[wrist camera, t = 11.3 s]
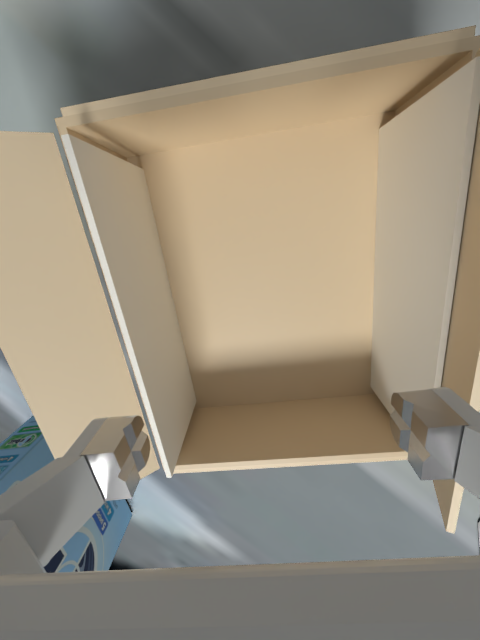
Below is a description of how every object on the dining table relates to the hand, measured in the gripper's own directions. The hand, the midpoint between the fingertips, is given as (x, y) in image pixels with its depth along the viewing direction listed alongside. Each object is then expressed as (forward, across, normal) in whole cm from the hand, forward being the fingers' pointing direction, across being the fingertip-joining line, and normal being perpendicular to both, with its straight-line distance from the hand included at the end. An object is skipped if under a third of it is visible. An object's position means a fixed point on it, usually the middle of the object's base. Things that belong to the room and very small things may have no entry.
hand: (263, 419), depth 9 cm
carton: (+18, -1, 0) cm, 18 cm away
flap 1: (+10, +9, 0) cm, 14 cm away
